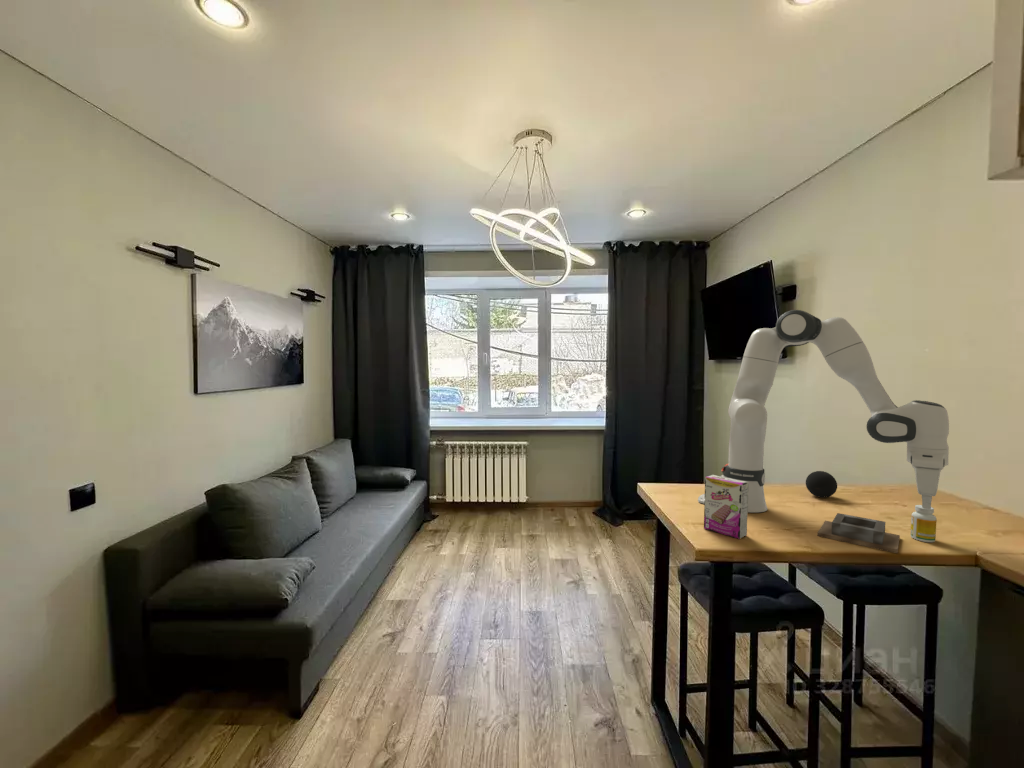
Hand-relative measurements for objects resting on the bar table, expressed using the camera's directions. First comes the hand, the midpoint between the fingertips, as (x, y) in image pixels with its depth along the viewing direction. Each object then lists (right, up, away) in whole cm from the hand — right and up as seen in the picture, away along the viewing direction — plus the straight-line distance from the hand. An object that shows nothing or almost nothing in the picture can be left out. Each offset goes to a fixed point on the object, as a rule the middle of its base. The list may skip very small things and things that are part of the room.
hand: (926, 504), depth 129 cm
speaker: (-1, -9, +42) cm, 43 cm away
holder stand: (-18, -10, +2) cm, 21 cm away
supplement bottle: (-1, -11, +1) cm, 11 cm away
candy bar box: (-56, -10, +5) cm, 57 cm away
